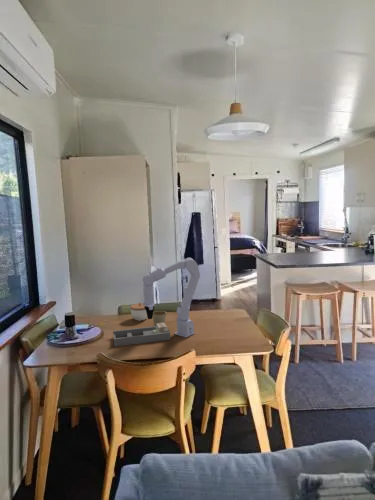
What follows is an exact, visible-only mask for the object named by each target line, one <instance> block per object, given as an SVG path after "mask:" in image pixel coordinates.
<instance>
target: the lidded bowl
mask: <svg viewBox="0 0 375 500" xmlns="http://www.w3.org/2000/svg"><path fill="white" fill-rule="evenodd" d="M144 306H145V305H142V302H138V303H134V304H131V305H130V314H131V317H132V318H133V319H134V321H136V320H138V321H137V322H142V321H141V320H143V321H146V320H145V319H148V317H147V313H146V310H145V308H144Z"/></svg>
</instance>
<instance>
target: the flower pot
mask: <svg viewBox="0 0 375 500" xmlns="http://www.w3.org/2000/svg"><path fill="white" fill-rule="evenodd" d="M166 315H167V311H165V310H154V311H153V316H152V319H153V320H152V322H153V326H156V324H157V323H165V324H166Z"/></svg>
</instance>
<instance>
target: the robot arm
mask: <svg viewBox="0 0 375 500" xmlns="http://www.w3.org/2000/svg"><path fill="white" fill-rule="evenodd" d="M177 270H187V271H188V273H189V274H190V277H189V280H188V283H187V286H186V289H185V291H184V295H183V298H182V301H181V302H180V304H179V306H177V307H176V314H177V317H176V331H175V332H174V333H173V334H174V335H177V336H180V337H183V338H189V336H192V335H194V334H196V333H195V328H194V327H195V326H194V325H195V324H194V321H193V320H191V319H190V309H191V303H192V300H193V298H194V295H195V292H196V289H197V286H198V283H199V280H200V277H201V273H200V269H199V264H198V263H197V262H196V260H194V259H193V258H192V257H186V258H183V259H181V260H178V261H177V262H174V263H173V264H171V265H169V266H167V267H165V268H162V267H160V268H159V267H157V268H156V269H155V270H153V271H152V272H151V271H150V272H148V273H145V274H144V275H143V277H142V282H143V285H142V286H143V287H142V288H143V303H142V302H141V303H142V305H145V306H144V308H145V310H146V313H147V319H148V320H152V319H153V317H152V316H153V312H155V304H156V303H155V293H154V292H155V291H154V290H155V289H154V283H155V282H159V281H160V280H163V279H164V278H166V276H167V275H168V274H170V273H172V272H173V273H174V272H175V271H177Z"/></svg>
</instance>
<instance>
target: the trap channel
mask: <svg viewBox="0 0 375 500" xmlns="http://www.w3.org/2000/svg"><path fill="white" fill-rule="evenodd" d="M168 328H169V327H167V332H165V333H156V334H154V331H153V330H154V329H157V328H156V326H154V325H153V326H145V327H137V328H136V327H135V328H128V329H127V328H126V329H119V330H118V329H117V330H112V336H113V345H114V347H119V346H120V347H121V346H128V345H129V346H130V345H137V344H139V345H140V344H145V343H153V342H161V341H163V342H164V341H170V340H171V332H170V329H168Z"/></svg>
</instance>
